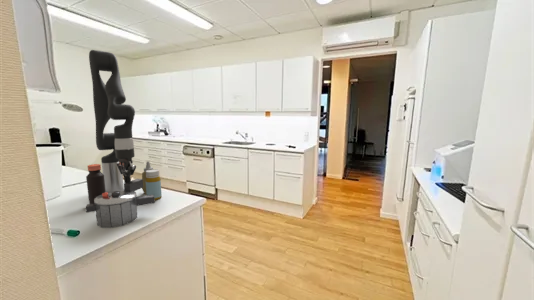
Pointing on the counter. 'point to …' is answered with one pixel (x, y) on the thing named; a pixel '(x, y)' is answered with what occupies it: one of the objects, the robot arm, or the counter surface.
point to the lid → (120, 194)
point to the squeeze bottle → (145, 176)
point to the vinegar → (95, 182)
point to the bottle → (153, 183)
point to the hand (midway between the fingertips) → (127, 183)
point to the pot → (118, 212)
